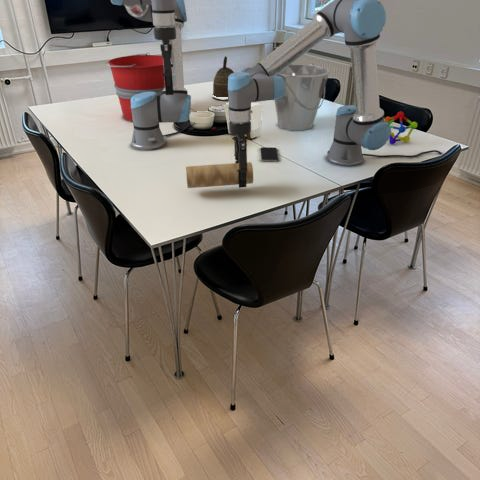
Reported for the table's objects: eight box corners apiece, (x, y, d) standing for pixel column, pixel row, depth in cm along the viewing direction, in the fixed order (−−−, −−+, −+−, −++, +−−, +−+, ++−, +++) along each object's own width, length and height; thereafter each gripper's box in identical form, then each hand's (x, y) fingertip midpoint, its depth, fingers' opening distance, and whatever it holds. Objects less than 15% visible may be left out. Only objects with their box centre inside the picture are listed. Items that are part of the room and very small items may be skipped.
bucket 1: (122, 106, 262) (115, 52, 246) (181, 107, 261) (178, 52, 245) (105, 124, 232) (96, 64, 216) (172, 125, 231) (167, 64, 216)
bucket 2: (296, 138, 215) (301, 78, 201) (255, 124, 234) (256, 68, 219) (335, 125, 232) (342, 70, 217) (294, 113, 251) (297, 61, 236)
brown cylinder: (188, 191, 158) (186, 171, 154) (187, 182, 164) (185, 163, 160) (253, 186, 161) (253, 167, 156) (249, 178, 167) (249, 158, 163)
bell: (227, 105, 294) (202, 96, 282) (238, 66, 289) (213, 55, 277) (243, 108, 280) (217, 98, 268) (255, 66, 275) (229, 55, 263)
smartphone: (261, 159, 190) (260, 147, 203) (261, 161, 190) (260, 148, 203) (278, 159, 190) (276, 147, 202) (278, 161, 190) (276, 148, 203)
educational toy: (377, 146, 209) (379, 114, 202) (384, 138, 219) (386, 107, 211) (411, 149, 202) (415, 116, 195) (417, 141, 212) (420, 109, 204)
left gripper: (176, 31, 141) (180, 98, 153) (174, 22, 162) (178, 82, 174) (152, 31, 141) (158, 99, 152) (154, 22, 161) (159, 82, 173)
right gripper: (256, 130, 143) (255, 193, 155) (246, 111, 160) (246, 170, 172) (233, 131, 142) (234, 195, 154) (225, 112, 159) (227, 171, 171)
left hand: (169, 90), depth 163 cm, fingers open, 13 cm apart
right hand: (240, 181), depth 163 cm, fingers closed on brown cylinder, 8 cm apart
